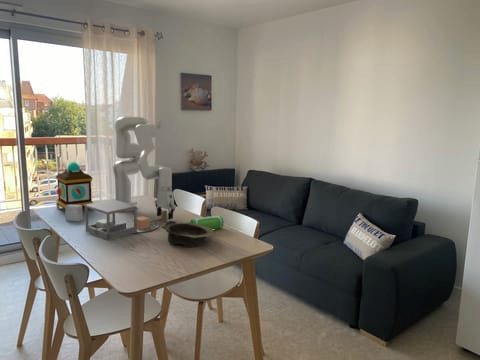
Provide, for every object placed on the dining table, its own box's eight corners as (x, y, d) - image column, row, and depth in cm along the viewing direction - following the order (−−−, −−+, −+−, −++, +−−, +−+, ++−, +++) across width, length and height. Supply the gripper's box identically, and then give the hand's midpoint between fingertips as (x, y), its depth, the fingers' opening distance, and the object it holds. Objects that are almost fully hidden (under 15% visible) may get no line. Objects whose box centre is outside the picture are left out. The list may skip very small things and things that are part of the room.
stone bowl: (151, 244, 175) (152, 225, 174) (182, 234, 197) (183, 217, 196) (193, 254, 164) (194, 234, 163) (221, 242, 186) (223, 224, 185)
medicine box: (82, 219, 210) (82, 205, 208) (78, 221, 205) (78, 207, 204) (69, 218, 210) (69, 204, 209) (65, 220, 206) (64, 206, 204)
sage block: (106, 227, 198) (106, 218, 197) (113, 229, 194) (113, 220, 194) (96, 230, 193) (96, 221, 192) (103, 232, 190) (103, 223, 189)
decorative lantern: (85, 203, 245) (83, 159, 239) (97, 210, 231) (95, 163, 225) (53, 207, 231) (51, 161, 226) (64, 215, 217) (61, 165, 212)
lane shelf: (114, 224, 204) (113, 199, 201) (136, 232, 192) (136, 206, 189) (85, 231, 190) (84, 204, 188) (108, 240, 179) (107, 212, 176)
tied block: (162, 219, 216) (162, 209, 215) (169, 221, 213) (169, 211, 212) (133, 227, 200) (133, 216, 199) (140, 229, 196) (140, 218, 195)
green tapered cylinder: (218, 226, 208) (218, 213, 206) (223, 230, 201) (224, 217, 200) (189, 230, 199) (189, 216, 198) (194, 234, 193) (194, 220, 192)
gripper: (180, 190, 208) (179, 218, 212) (160, 185, 219) (160, 213, 222) (170, 192, 203) (170, 221, 206) (150, 187, 213) (150, 215, 216)
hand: (164, 217), depth 214 cm, fingers open, 9 cm apart
